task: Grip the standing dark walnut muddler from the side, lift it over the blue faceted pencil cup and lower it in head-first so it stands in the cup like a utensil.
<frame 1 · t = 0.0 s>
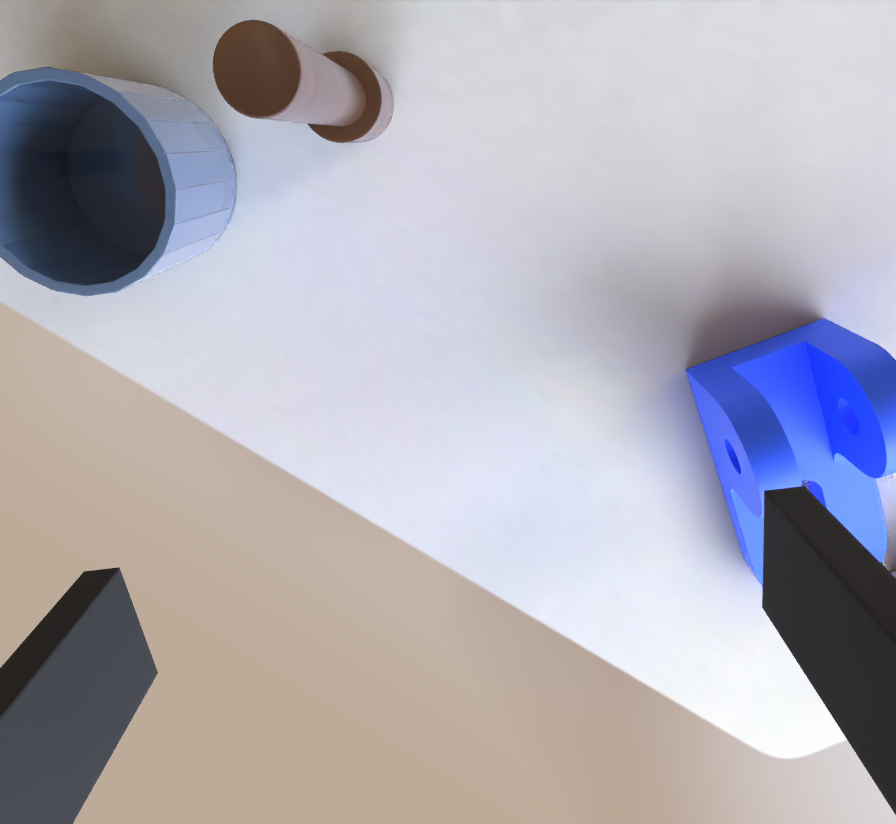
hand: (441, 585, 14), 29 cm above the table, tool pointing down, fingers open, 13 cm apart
muddler: (357, 103, 38), on the table
bracket: (786, 469, 45), on the table
blue faceted pencil cup: (151, 177, 39), on the table
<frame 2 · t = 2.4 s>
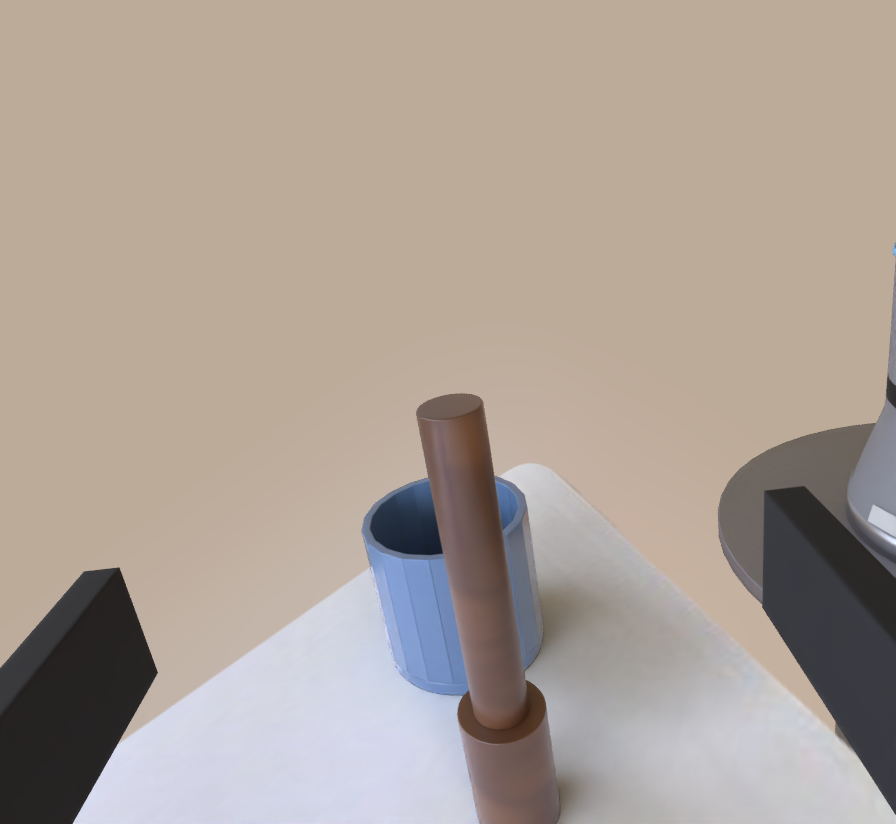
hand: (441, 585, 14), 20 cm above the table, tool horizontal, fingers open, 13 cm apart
muddler: (518, 807, 32), on the table
blue faceted pencil cup: (467, 638, 44), on the table
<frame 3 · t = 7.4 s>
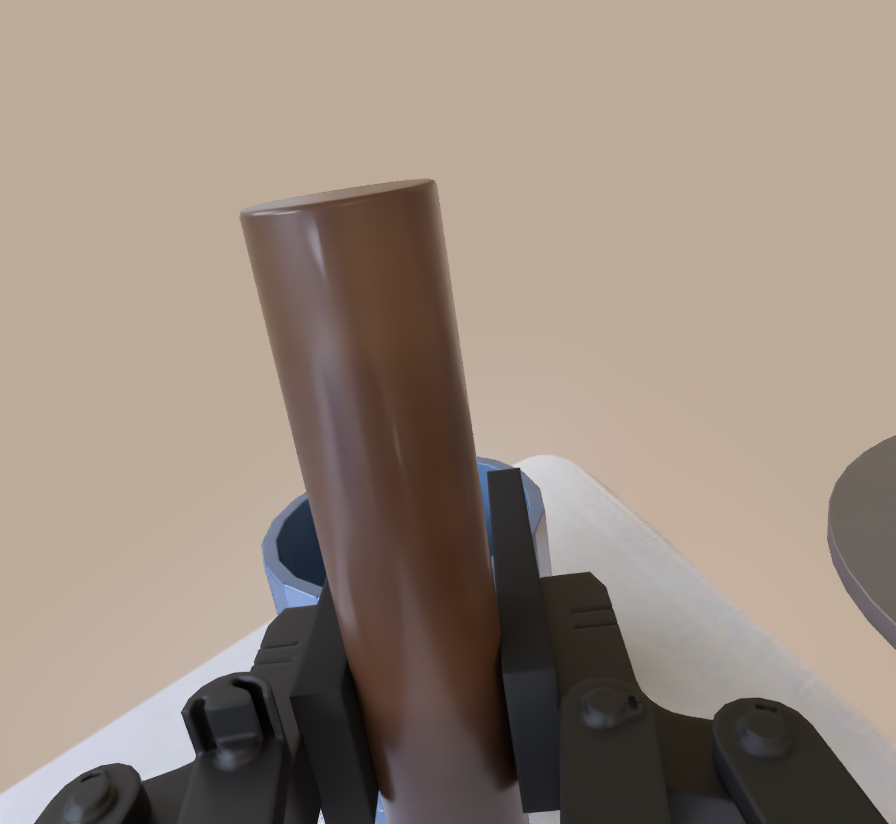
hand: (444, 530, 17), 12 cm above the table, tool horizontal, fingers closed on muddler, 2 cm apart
blue faceted pencil cup: (442, 720, 27), on the table
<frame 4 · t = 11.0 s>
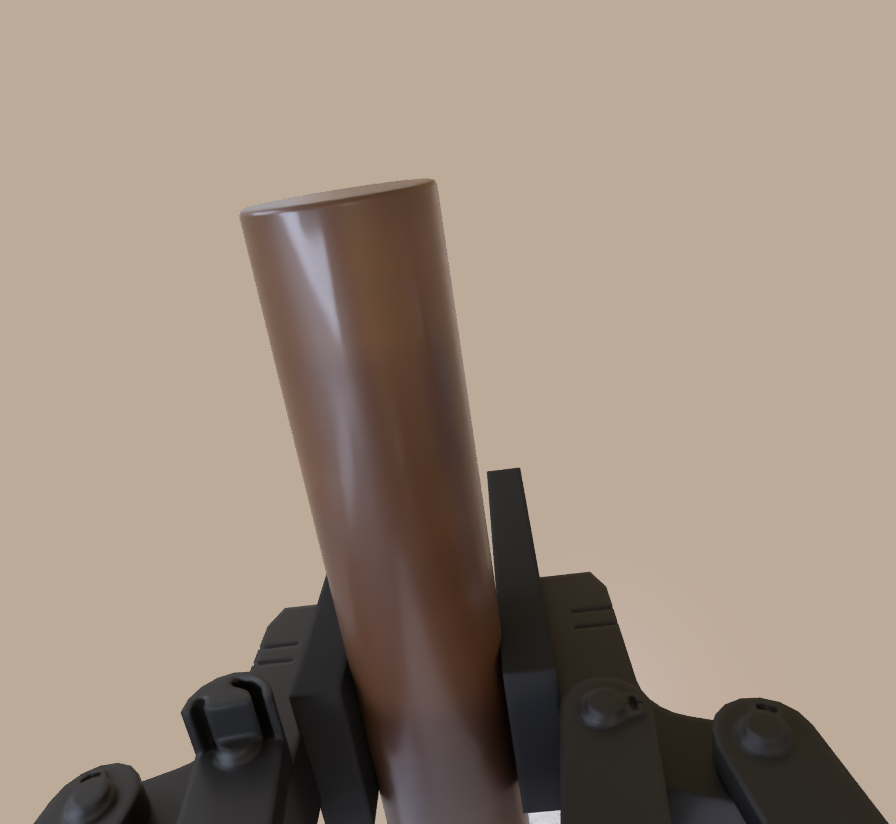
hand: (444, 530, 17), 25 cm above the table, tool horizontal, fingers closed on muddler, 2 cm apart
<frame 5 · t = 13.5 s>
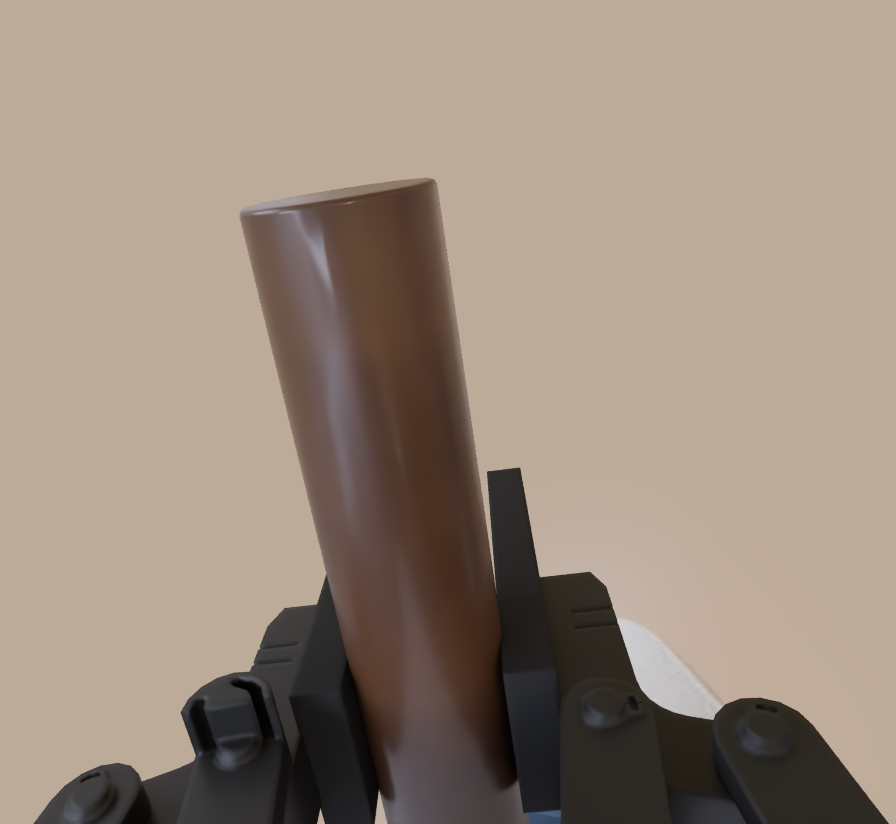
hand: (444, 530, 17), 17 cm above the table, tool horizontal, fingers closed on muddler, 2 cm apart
when the fingers open (13 cm above the table, at t = 14.8 s): muddler stays where it is, resting on blue faceted pencil cup.
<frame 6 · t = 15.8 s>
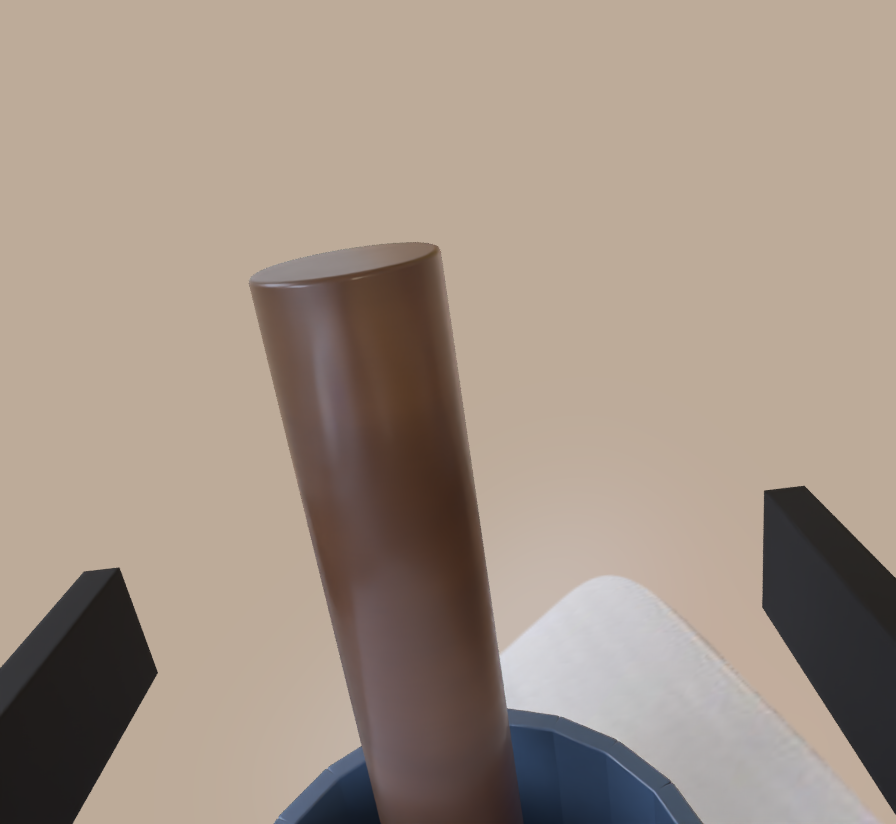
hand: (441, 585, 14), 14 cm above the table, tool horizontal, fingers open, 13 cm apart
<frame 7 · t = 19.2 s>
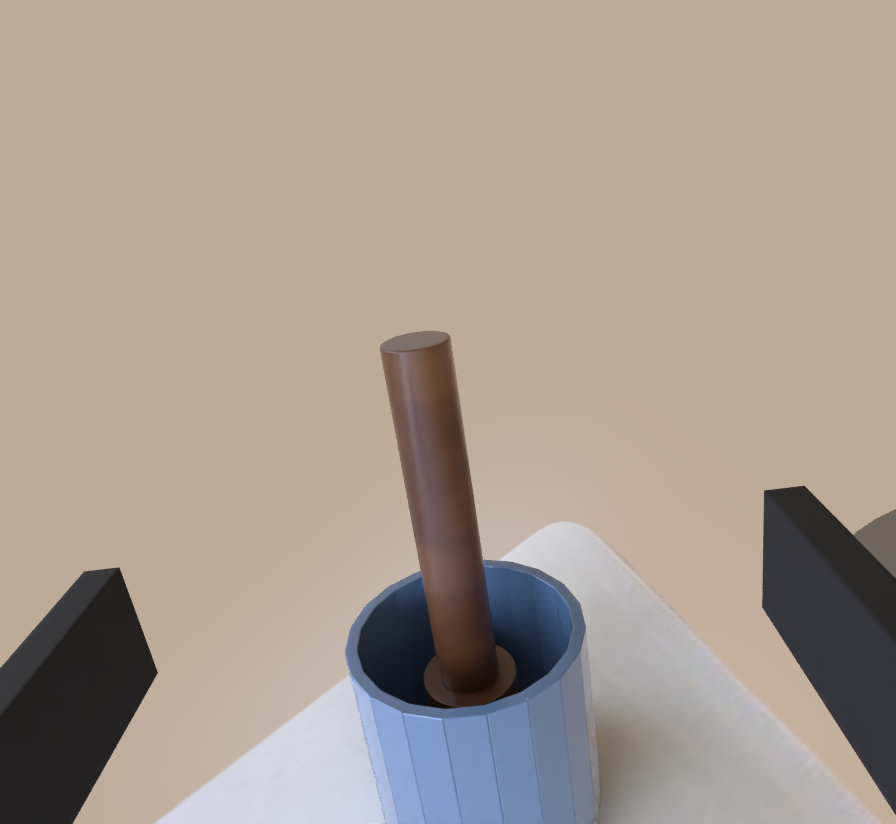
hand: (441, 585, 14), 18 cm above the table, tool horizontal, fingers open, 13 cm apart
muddler: (487, 781, 31), point 1 cm above the table, touching blue faceted pencil cup
blue faceted pencil cup: (491, 794, 31), on the table
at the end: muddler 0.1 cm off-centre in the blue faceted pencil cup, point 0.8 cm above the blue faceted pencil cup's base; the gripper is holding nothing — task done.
